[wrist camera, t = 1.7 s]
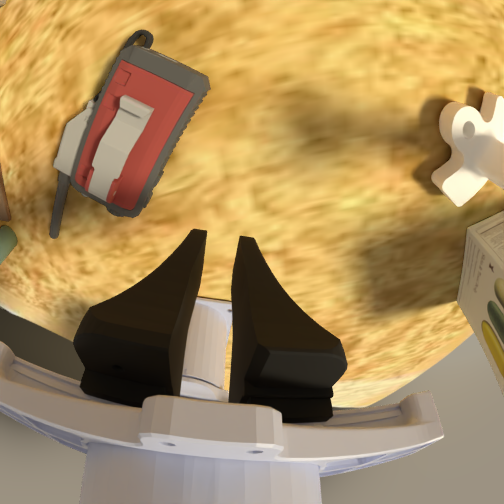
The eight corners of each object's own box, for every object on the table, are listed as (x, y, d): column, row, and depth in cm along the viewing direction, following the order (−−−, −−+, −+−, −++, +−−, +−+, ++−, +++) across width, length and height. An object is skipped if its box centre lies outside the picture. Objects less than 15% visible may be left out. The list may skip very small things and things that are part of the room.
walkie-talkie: (125, 22, 13) (51, 225, 22) (96, 14, 9) (29, 251, 19) (228, 68, 16) (122, 263, 25) (222, 67, 12) (107, 295, 22)
